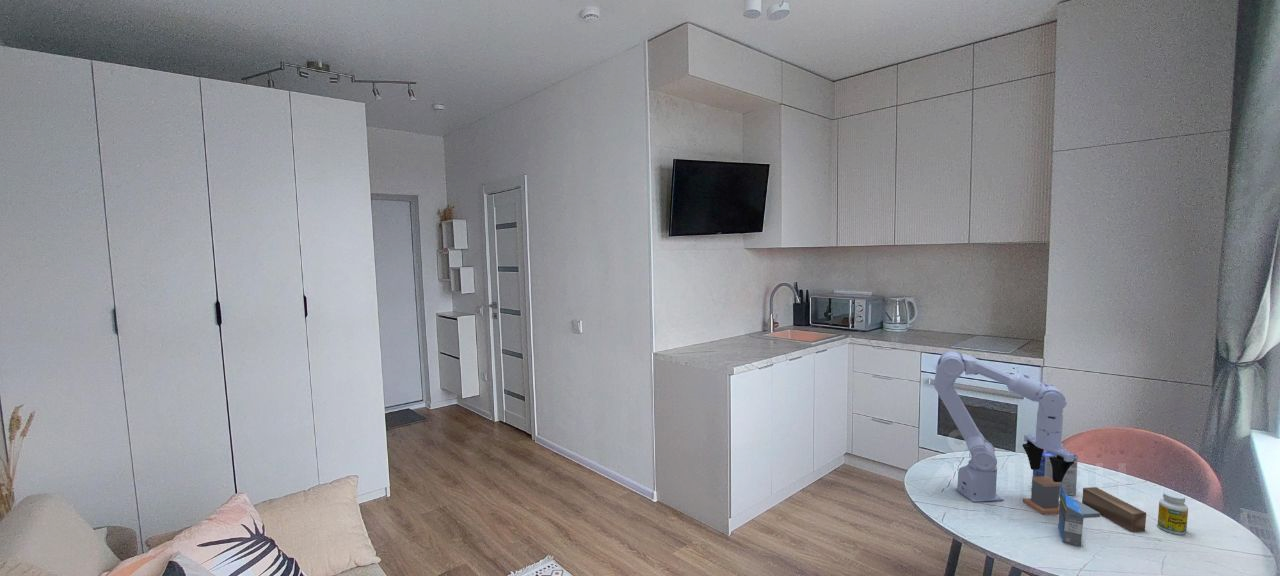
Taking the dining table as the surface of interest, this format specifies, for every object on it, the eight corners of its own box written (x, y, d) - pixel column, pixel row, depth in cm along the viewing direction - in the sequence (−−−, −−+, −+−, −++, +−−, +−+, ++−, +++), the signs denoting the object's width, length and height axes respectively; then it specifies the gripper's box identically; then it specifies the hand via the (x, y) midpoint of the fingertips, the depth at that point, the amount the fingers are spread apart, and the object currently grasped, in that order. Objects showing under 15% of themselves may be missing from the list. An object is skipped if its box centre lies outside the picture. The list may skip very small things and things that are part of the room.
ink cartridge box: (1062, 486, 160) (1065, 441, 159) (1077, 495, 155) (1080, 449, 153) (1030, 487, 160) (1032, 441, 159) (1043, 495, 155) (1046, 449, 153)
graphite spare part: (1043, 508, 146) (1045, 484, 145) (1030, 500, 150) (1032, 476, 150) (1058, 507, 146) (1059, 483, 146) (1045, 499, 151) (1046, 476, 150)
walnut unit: (1130, 531, 136) (1132, 513, 135) (1081, 504, 150) (1083, 487, 149) (1146, 530, 136) (1147, 512, 136) (1096, 503, 150) (1097, 487, 150)
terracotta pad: (1042, 514, 145) (1042, 511, 145) (1022, 501, 152) (1022, 498, 152) (1066, 513, 145) (1066, 509, 145) (1045, 500, 152) (1045, 497, 152)
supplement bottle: (1177, 525, 138) (1180, 491, 137) (1191, 536, 133) (1195, 501, 132) (1152, 522, 140) (1155, 488, 139) (1165, 533, 135) (1168, 498, 134)
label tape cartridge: (1082, 547, 130) (1085, 500, 128) (1062, 542, 132) (1065, 496, 131) (1075, 529, 137) (1078, 485, 136) (1057, 525, 139) (1059, 482, 138)
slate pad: (1076, 517, 143) (1076, 514, 143) (1054, 504, 150) (1054, 501, 150) (1099, 516, 143) (1100, 513, 143) (1077, 503, 150) (1077, 500, 150)
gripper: (1085, 438, 139) (1082, 486, 141) (1041, 419, 154) (1038, 463, 155) (1061, 439, 139) (1057, 487, 140) (1018, 420, 153) (1015, 464, 155)
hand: (1045, 475), depth 148 cm, fingers open, 7 cm apart
